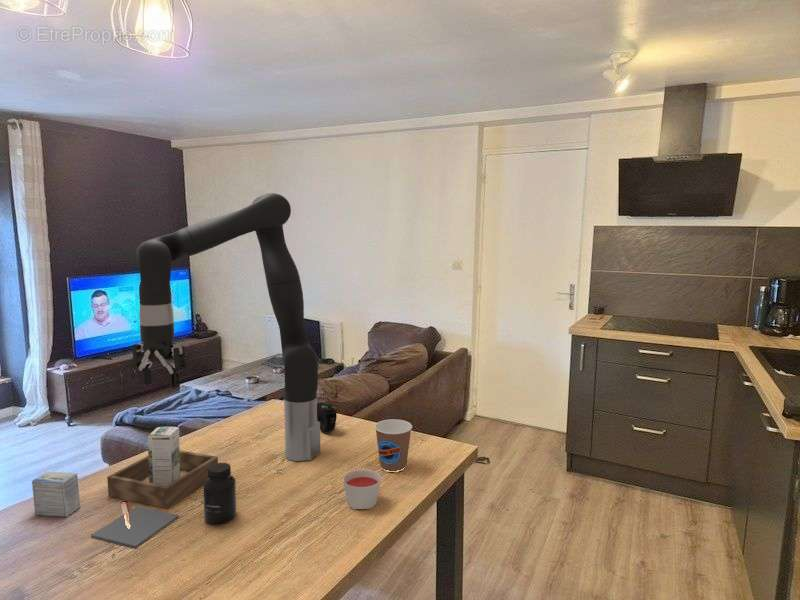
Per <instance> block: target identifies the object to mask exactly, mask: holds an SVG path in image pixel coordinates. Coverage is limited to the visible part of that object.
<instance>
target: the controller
mask: <svg viewBox="0 0 800 600" xmlns="http://www.w3.org/2000/svg"><path fill="white" fill-rule="evenodd" d="M332 406H333V404H332V403H330V402H329V403H324V402H317V421H319V422H320V432H322V431H323V432H322V433H324V432H327V433H331V432H333V431H334V430H335V427H336V423H337V417H338V415H337V413H338V411H337V410H336V409H334V408H333V407H332Z"/></svg>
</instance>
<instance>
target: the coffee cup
mask: <svg viewBox="0 0 800 600" xmlns="http://www.w3.org/2000/svg"><path fill="white" fill-rule="evenodd" d="M374 429H375V432H376V435H375V436H376V442H377V450H378V457H379V458H378V459H379V465H380V468H381V467H382V468H383V469H385V470H389V471H397V470H401V469H403V468H404V467H405V466H406V467H407V463H408V458H409V457H408V456H409V449H410V443H411V442H410V441H411V433H412V432H411V431H412V429H413V425H412V424H411V423H410V422H409V421H407V420H403V419H395V418H394V419H393V418H392V419H385V420H380V421H378V422H376V423H375V425H374Z"/></svg>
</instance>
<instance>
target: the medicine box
mask: <svg viewBox="0 0 800 600" xmlns="http://www.w3.org/2000/svg"><path fill="white" fill-rule="evenodd" d="M31 487H32V495H33V505H34V506H33V507H34V515H35V516H39V515H40V516H41V515H42V517H58V516H59V518H61V517H63V518H67V517H69V516H71V515H70V514H74V511H75V512H76V511H77V510H79V509H80V508H81V498H80V491H79V490H80V489H79V488H80V487H79V480H78V473H76V472H60V471H59V472H57V471H46V472H44V473H42V474H41V475H38V476H37V477H36V478H33V480H31ZM78 508H79V509H78Z"/></svg>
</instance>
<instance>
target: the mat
mask: <svg viewBox="0 0 800 600" xmlns="http://www.w3.org/2000/svg"><path fill="white" fill-rule="evenodd" d="M128 511H129V521H130V525H131V527H130V529H128V528H127V526H126V525H125V519H124V514H122V515H120V516H119V517H117V518H115V519H114V520H112V521H111V522H109V523H108V524H106V525H104V526H103V527H101V528H99V529H98V530H97V531H95V532H92V534H90V537H91V538H93V539H98V540H103V541H106V542H110V543H113V544H118V545H121V546H126V547H129V548H134V549H136V548H138V547H139V546H141V545H143V543H145V542H146V541H148V540H149V539H150V538H152V537H153V536H155V535H156V534H158V533H159V532H160V531H162V530H163V529H165V528H166V527H167V526H169V525H170V524H171V523H173V522H174V521H175V520H176V521H177V519H178V518H179V517H180V516H179V514H175V513H170V512H167V511H162V510H157V509H152V508H147V507H142V506H138V505H137V506H135V507H134V508H132V509H130V510H128Z"/></svg>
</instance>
